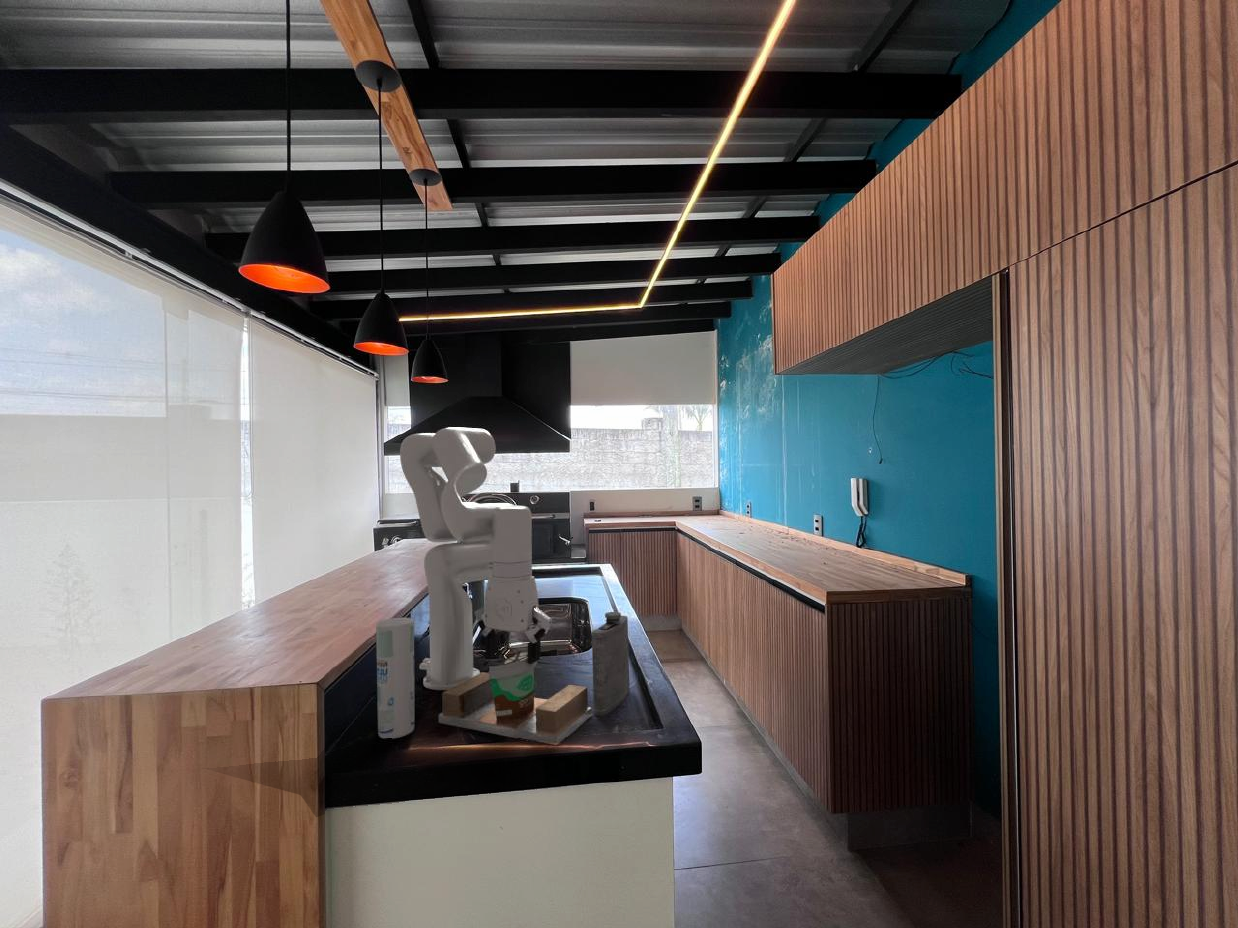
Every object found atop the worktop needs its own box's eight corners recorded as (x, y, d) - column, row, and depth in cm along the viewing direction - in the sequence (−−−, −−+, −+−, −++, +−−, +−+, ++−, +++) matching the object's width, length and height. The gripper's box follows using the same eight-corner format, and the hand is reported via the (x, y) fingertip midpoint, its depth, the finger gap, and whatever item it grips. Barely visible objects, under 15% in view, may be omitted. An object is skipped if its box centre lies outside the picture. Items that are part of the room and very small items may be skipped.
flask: (634, 689, 116) (632, 605, 117) (608, 716, 103) (606, 621, 104) (619, 687, 118) (616, 604, 118) (591, 714, 104) (588, 620, 105)
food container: (523, 723, 96) (518, 666, 97) (492, 723, 98) (487, 667, 98) (550, 697, 108) (545, 646, 109) (522, 696, 110) (518, 647, 110)
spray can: (421, 730, 100) (419, 621, 100) (385, 742, 95) (384, 628, 96) (406, 719, 104) (405, 615, 105) (371, 731, 100) (370, 622, 100)
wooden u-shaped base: (438, 722, 103) (438, 693, 103) (482, 697, 114) (481, 670, 115) (556, 746, 92) (556, 713, 92) (591, 715, 104) (590, 686, 104)
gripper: (463, 569, 105) (463, 658, 104) (539, 576, 97) (540, 671, 97) (488, 563, 111) (488, 646, 111) (560, 569, 104) (561, 658, 104)
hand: (512, 658), depth 104 cm, fingers open, 9 cm apart
